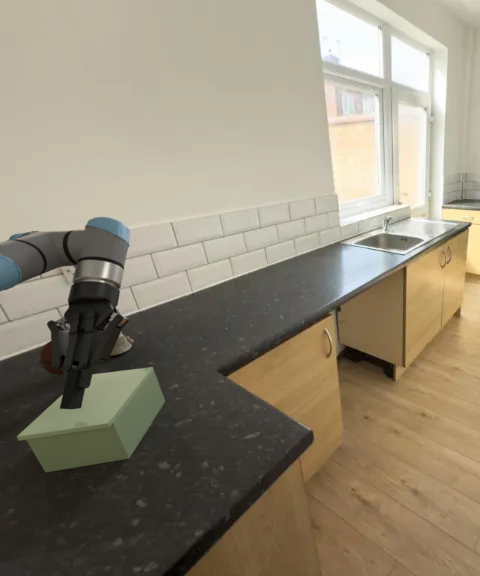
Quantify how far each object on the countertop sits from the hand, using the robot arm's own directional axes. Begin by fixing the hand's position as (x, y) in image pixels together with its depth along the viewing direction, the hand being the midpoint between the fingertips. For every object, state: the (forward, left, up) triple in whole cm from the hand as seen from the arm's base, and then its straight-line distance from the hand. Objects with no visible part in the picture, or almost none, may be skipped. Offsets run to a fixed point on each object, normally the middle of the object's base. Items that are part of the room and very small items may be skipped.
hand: (70, 408), depth 56 cm
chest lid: (-1, +5, -3) cm, 6 cm away
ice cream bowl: (-21, +22, -12) cm, 32 cm away
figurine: (-25, +38, -12) cm, 47 cm away
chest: (-1, +6, -12) cm, 13 cm away
